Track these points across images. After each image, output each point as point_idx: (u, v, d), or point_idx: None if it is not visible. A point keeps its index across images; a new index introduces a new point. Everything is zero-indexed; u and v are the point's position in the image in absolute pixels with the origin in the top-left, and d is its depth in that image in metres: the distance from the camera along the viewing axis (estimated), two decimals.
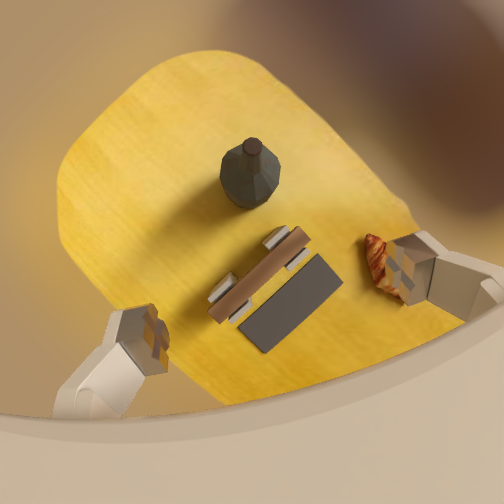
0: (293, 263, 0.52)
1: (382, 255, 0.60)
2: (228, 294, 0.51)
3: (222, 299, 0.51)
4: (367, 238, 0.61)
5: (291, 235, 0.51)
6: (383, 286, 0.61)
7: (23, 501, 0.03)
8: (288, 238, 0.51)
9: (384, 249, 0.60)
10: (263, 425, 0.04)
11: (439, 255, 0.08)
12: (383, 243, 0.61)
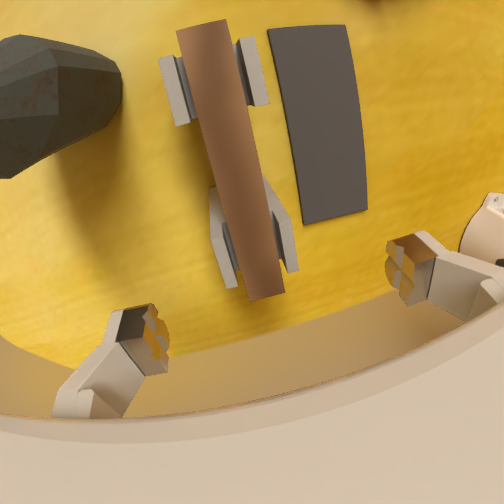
0: (257, 85, 0.17)
1: None
2: (239, 254, 0.23)
3: (242, 268, 0.24)
4: None
5: (187, 57, 0.15)
6: None
7: (23, 501, 0.03)
8: (190, 67, 0.15)
9: None
10: (263, 425, 0.04)
11: (439, 255, 0.08)
12: None
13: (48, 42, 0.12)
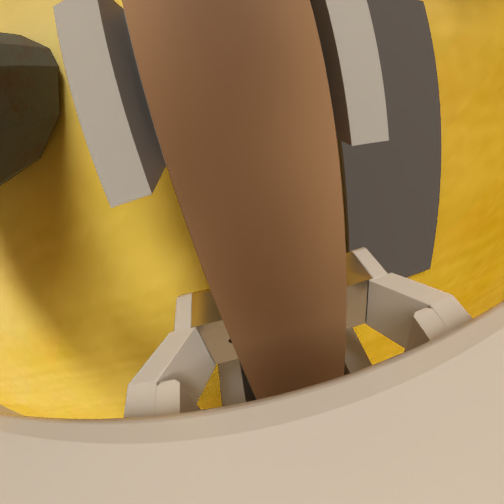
0: (361, 80, 0.05)
1: None
2: None
3: None
4: None
5: None
6: None
7: (23, 501, 0.03)
8: (141, 8, 0.03)
9: None
10: (263, 424, 0.04)
11: (374, 277, 0.08)
12: None
13: None
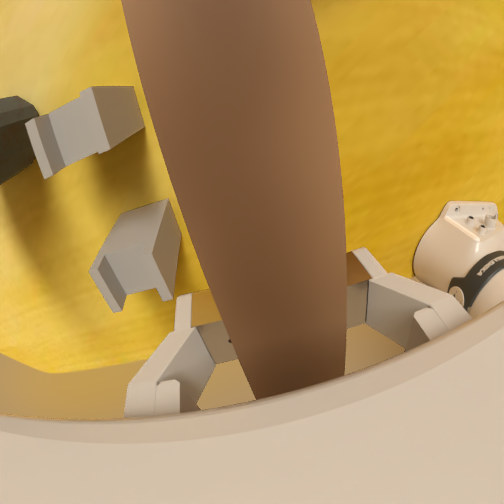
0: (97, 133, 0.17)
1: None
2: None
3: None
4: None
5: None
6: None
7: (23, 501, 0.03)
8: (140, 5, 0.03)
9: None
10: (263, 424, 0.04)
11: (374, 278, 0.08)
12: None
13: None
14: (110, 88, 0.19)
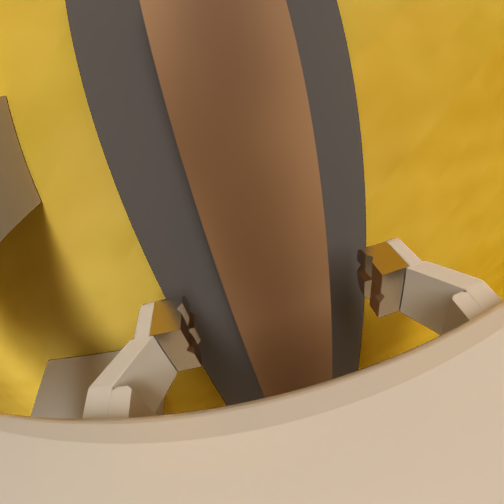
0: None
1: None
2: None
3: None
4: None
5: None
6: None
7: (23, 501, 0.03)
8: (158, 23, 0.05)
9: None
10: (263, 425, 0.04)
11: (411, 265, 0.08)
12: None
13: None
14: None
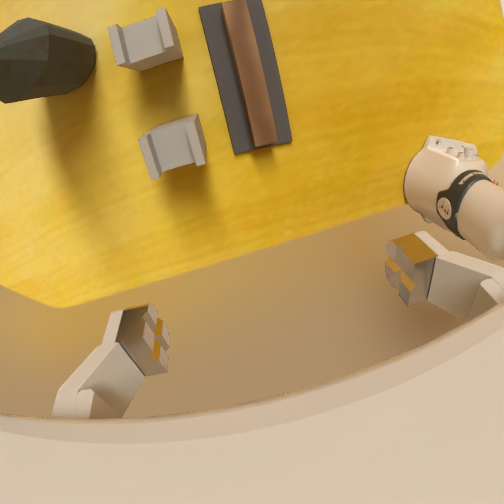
0: (165, 35, 0.23)
1: None
2: (250, 112, 0.37)
3: (252, 122, 0.38)
4: None
5: (226, 14, 0.29)
6: None
7: (23, 501, 0.03)
8: (228, 19, 0.29)
9: None
10: (263, 425, 0.04)
11: (439, 255, 0.08)
12: None
13: (45, 23, 0.18)
14: (169, 17, 0.25)
